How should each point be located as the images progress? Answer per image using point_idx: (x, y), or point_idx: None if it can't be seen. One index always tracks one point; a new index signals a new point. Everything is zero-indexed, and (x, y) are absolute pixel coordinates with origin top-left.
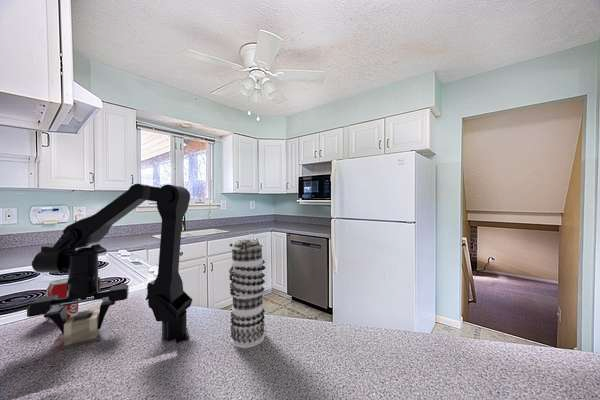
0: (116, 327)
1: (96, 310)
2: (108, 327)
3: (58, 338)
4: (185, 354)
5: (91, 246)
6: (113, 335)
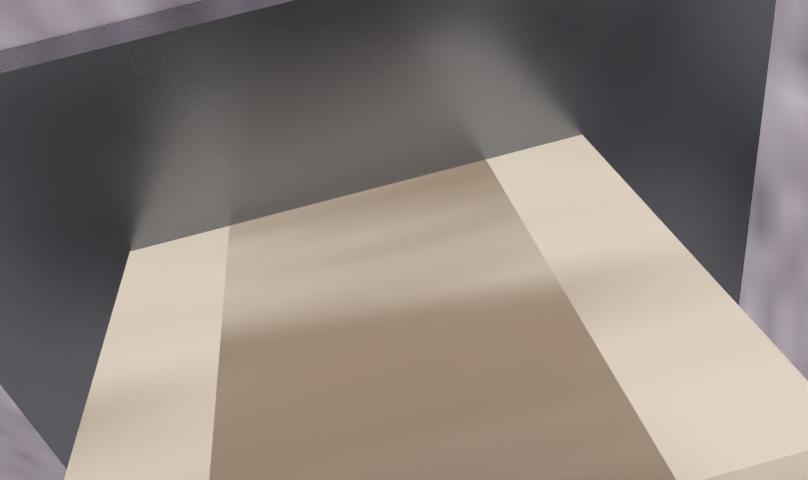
0: (790, 19)
1: (741, 474)
2: (714, 170)
3: (3, 347)
4: None
5: None
6: (745, 285)
